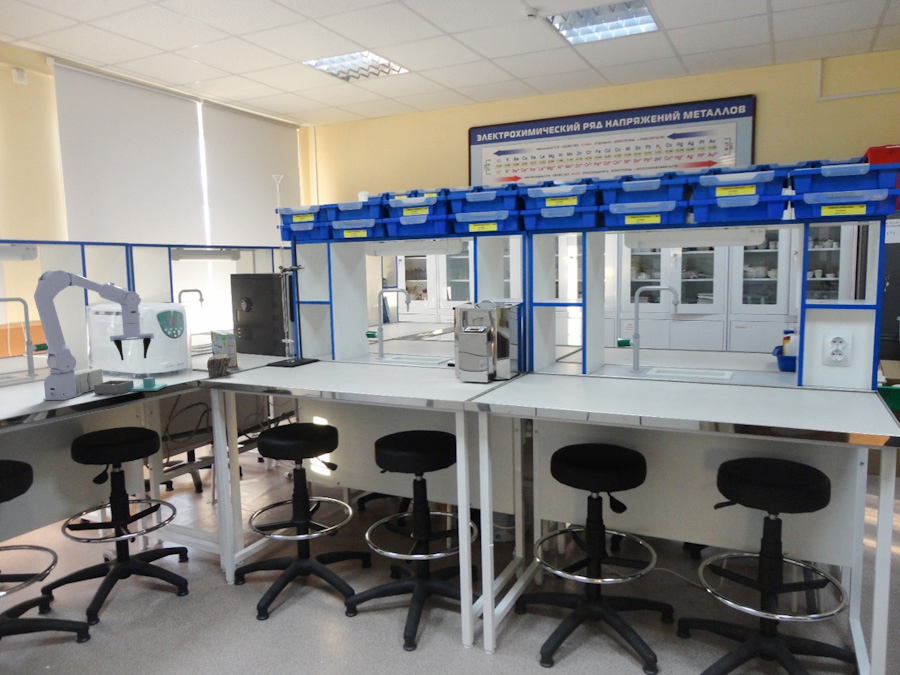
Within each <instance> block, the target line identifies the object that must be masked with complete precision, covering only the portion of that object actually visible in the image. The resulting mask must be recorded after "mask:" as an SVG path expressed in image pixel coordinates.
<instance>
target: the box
mask: <svg viewBox="0 0 900 675" xmlns="http://www.w3.org/2000/svg"><path fill="white" fill-rule="evenodd" d="M94 388H95V390H94V395H95V394H120V395H123V394H126V393H129V392H132V391H131V389H132V388H135V384H134V380H133V379H132V380H131V379H130V380H129V379H128V380H127V379H126V380H122V379H119V380H107V381H103V383H100V384H96V385H94ZM128 391H129V392H128Z"/></svg>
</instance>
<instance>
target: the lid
mask: <svg viewBox="0 0 900 675" xmlns="http://www.w3.org/2000/svg"><path fill="white" fill-rule="evenodd" d="M167 386H168V384H167V383H156V378H155V377H145V378H142V384H139V385H137V386H134V388H132V389H131V391H130V392H155V391H159V390H161V389H163V388H165V387H167Z"/></svg>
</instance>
